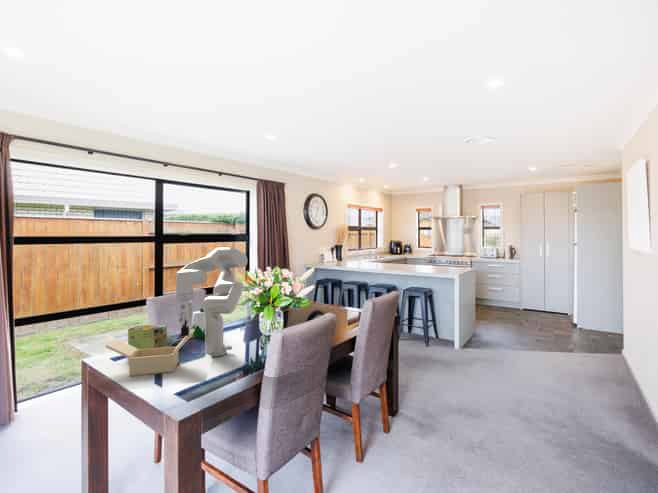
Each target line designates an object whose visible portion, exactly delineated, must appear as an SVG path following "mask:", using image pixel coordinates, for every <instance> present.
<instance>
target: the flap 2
mask: <svg viewBox="0 0 658 493" xmlns="http://www.w3.org/2000/svg"><path fill="white" fill-rule="evenodd" d="M194 331H195V329H194V328H193V329H191V330H189V335H188V336H184V338H183V339H182V340H181V341H180V342H178V344H177V345H176V346H177V347H176V346H175V347H176V348H175V350H174V352H173V353H174V354H175V353H176V352H177V351H178V352H179V350H180V349H181V348H182V347H183V346H184V345H185V343H186V342H187V341H188V340H189V339H191V337H193V333H194Z"/></svg>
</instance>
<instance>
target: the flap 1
mask: <svg viewBox="0 0 658 493" xmlns="http://www.w3.org/2000/svg"><path fill="white" fill-rule="evenodd" d="M105 348H107V349H108V350H111V351H113V352H115V353H118V354H119V355H121V356H123V357H126V358H127V359H129V358H130V357H131V356H132V355H133V354H134V353H135V352H136V351H137V348H135V347H133V346H131V345H129V344H128V343H127V342H126V341H123V340H121V339H118V338H116V337H115V338H114V339H113V340H111V341H110V342H109V343H107V344H106V345H105Z"/></svg>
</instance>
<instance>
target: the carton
mask: <svg viewBox="0 0 658 493" xmlns="http://www.w3.org/2000/svg"><path fill="white" fill-rule="evenodd" d="M176 347H177V345H176V346H170V347H163V348H151V349H138V350H137V351H136V352H135V353H134V354H133V355H132V356H131V357H130V358H128V360H129V361H128V368H129V370H128V372H129V376H128V377H138V376H147V375H148V376H149V375H150V376H151V375H159V374H160V375H162V374H171V373H174V372H175V370H176V368H177V366H178V364H179V350H178V351H177V352H176V353H175V354H174V353H173V352H174V350H175V348H176Z"/></svg>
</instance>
